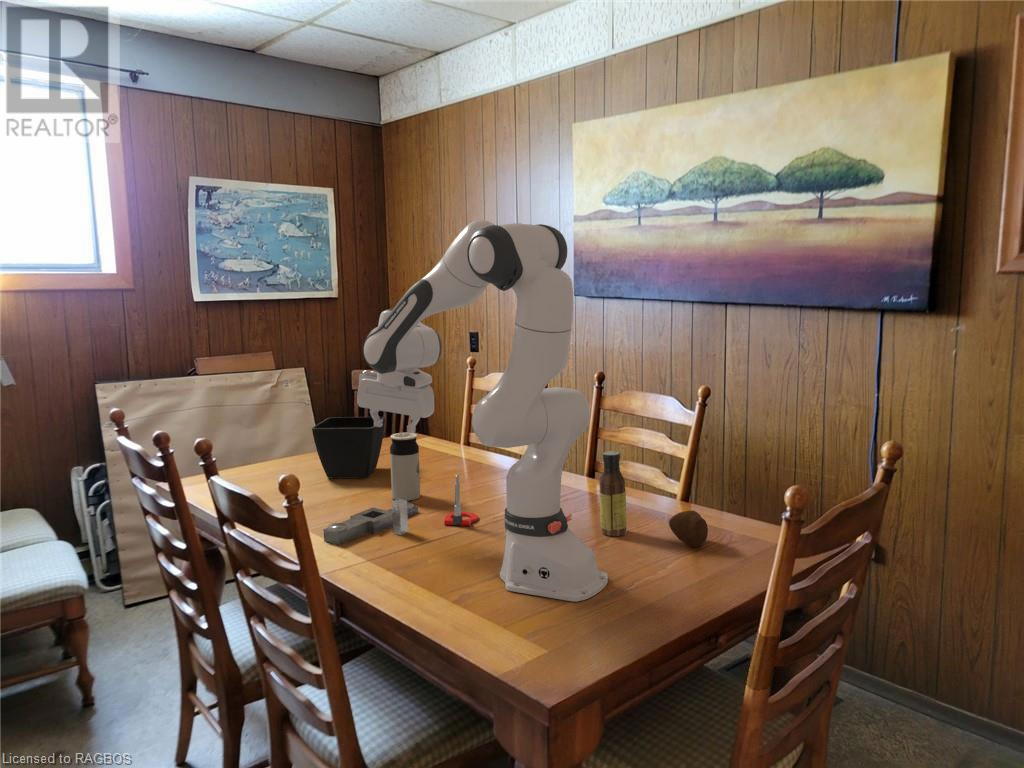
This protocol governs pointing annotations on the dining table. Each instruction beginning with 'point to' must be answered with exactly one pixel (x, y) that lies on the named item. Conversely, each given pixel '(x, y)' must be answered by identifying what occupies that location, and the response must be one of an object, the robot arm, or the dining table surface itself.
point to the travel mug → (405, 466)
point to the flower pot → (348, 446)
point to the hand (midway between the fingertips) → (394, 429)
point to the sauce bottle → (612, 496)
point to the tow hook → (459, 511)
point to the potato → (689, 527)
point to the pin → (399, 516)
